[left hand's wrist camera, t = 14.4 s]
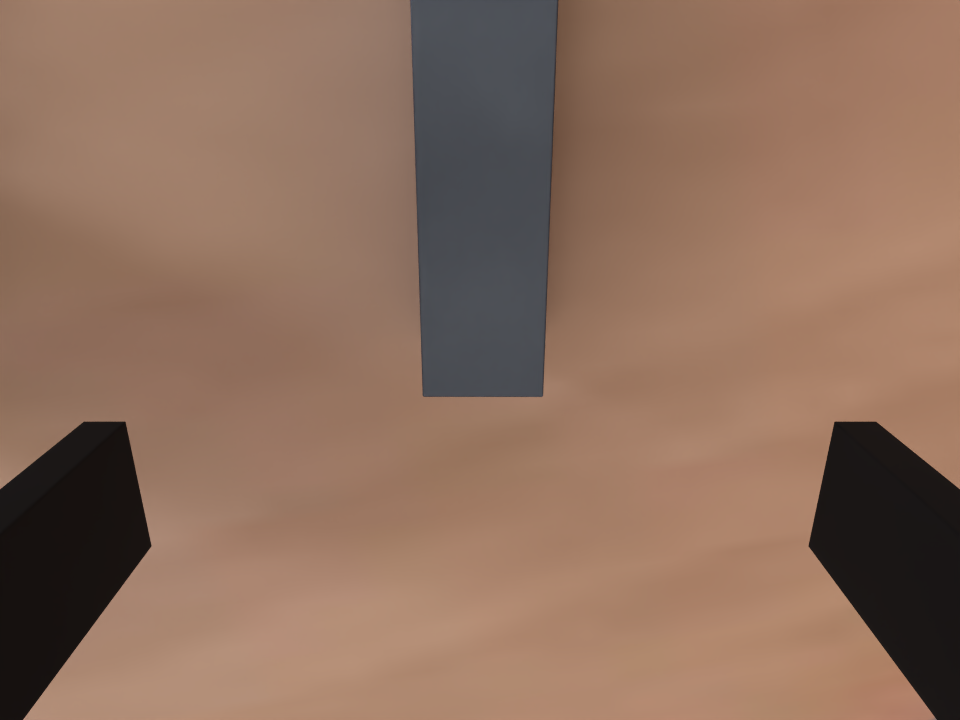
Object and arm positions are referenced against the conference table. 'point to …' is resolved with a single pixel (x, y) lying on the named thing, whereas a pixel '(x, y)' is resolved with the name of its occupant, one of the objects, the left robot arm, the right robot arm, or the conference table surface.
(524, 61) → the bar
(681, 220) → the conference table surface
